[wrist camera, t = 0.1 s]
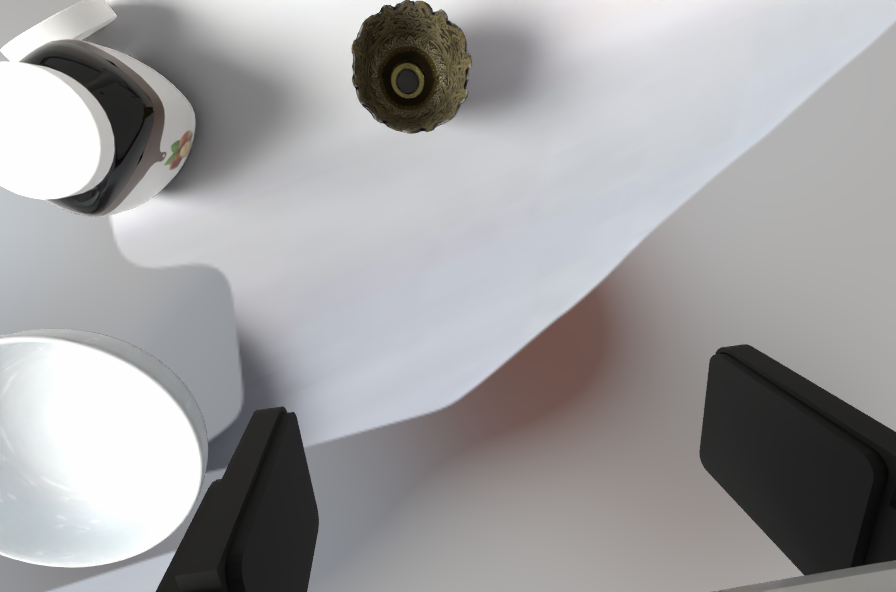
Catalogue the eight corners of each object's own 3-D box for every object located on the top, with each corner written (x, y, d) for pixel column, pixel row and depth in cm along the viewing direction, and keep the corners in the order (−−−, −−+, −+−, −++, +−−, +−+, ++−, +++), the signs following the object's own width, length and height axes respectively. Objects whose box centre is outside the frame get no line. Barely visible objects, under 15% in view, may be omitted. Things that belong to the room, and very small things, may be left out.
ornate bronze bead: (363, 18, 35) (355, -13, 27) (461, 36, 36) (480, 11, 28) (355, 125, 37) (346, 124, 30) (448, 139, 38) (462, 141, 31)
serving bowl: (273, 448, 46) (254, 500, 39) (85, 538, 47) (35, 604, 40) (133, 262, 39) (81, 288, 32) (-87, 372, 39) (-180, 419, 33)
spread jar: (157, 217, 38) (62, 252, 27) (7, 125, 34) (-172, 122, 23) (235, 86, 35) (165, 66, 24) (81, -25, 32) (-79, -106, 21)
